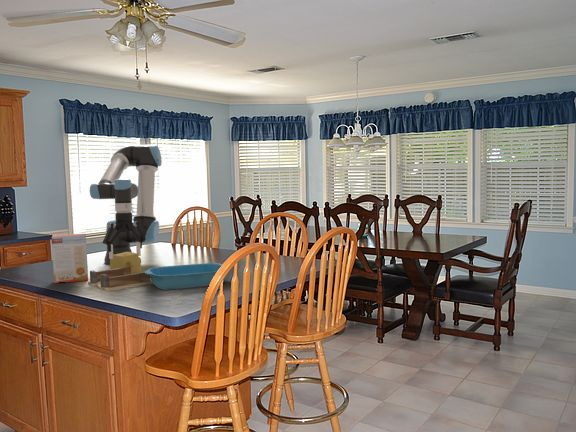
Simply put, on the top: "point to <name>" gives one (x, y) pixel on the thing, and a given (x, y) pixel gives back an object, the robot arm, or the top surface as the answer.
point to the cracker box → (69, 258)
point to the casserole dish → (183, 275)
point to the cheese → (126, 262)
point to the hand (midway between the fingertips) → (125, 257)
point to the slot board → (118, 279)
